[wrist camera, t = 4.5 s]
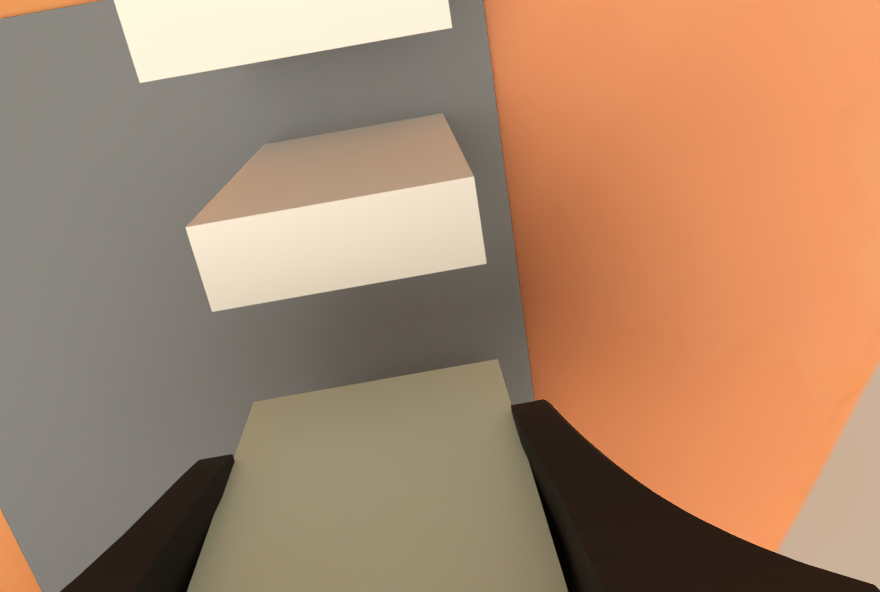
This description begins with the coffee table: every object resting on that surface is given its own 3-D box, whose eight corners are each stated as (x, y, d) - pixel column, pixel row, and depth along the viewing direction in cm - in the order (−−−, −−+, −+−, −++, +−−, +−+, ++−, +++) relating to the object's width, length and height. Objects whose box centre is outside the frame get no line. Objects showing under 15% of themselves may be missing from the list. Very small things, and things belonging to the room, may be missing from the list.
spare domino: (507, 425, 15) (623, 840, 7) (273, 466, 15) (155, 922, 7) (497, 358, 14) (612, 738, 7) (253, 402, 14) (104, 826, 7)
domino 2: (451, 169, 20) (486, 263, 13) (278, 200, 20) (211, 312, 13) (442, 113, 19) (474, 176, 12) (263, 144, 19) (185, 227, 12)
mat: (550, 538, 26) (553, 547, 25) (68, 622, 26) (63, 633, 25) (472, -64, 18) (474, -66, 18) (-210, 57, 18) (-226, 58, 18)
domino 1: (428, 20, 18) (452, 28, 11) (240, 53, 18) (139, 83, 11) (417, -47, 18) (435, -86, 10) (223, -13, 18) (105, -27, 10)
